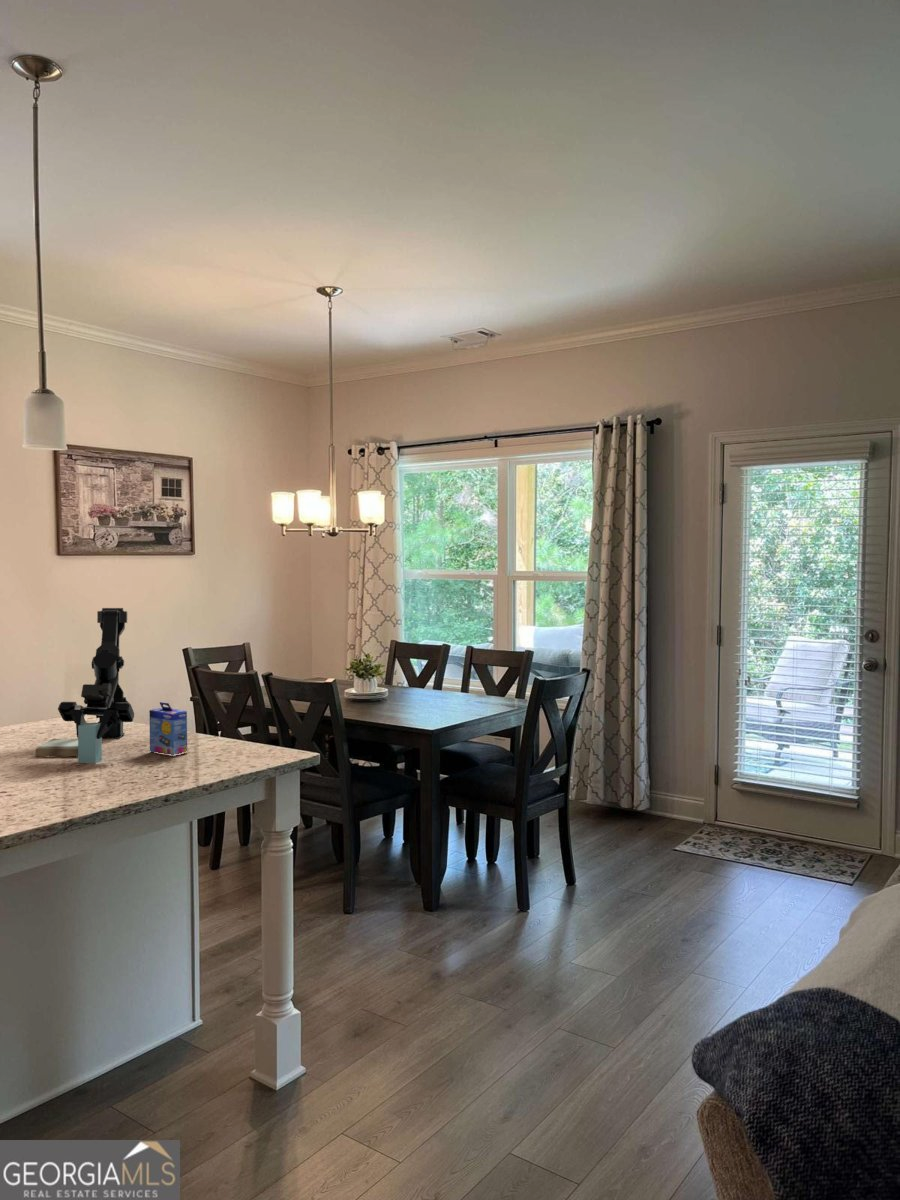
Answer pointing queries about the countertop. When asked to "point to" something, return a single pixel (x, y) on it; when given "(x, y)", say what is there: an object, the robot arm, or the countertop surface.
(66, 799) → the countertop surface
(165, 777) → the countertop surface
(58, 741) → the stand
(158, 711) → the ink cartridge box
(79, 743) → the block
